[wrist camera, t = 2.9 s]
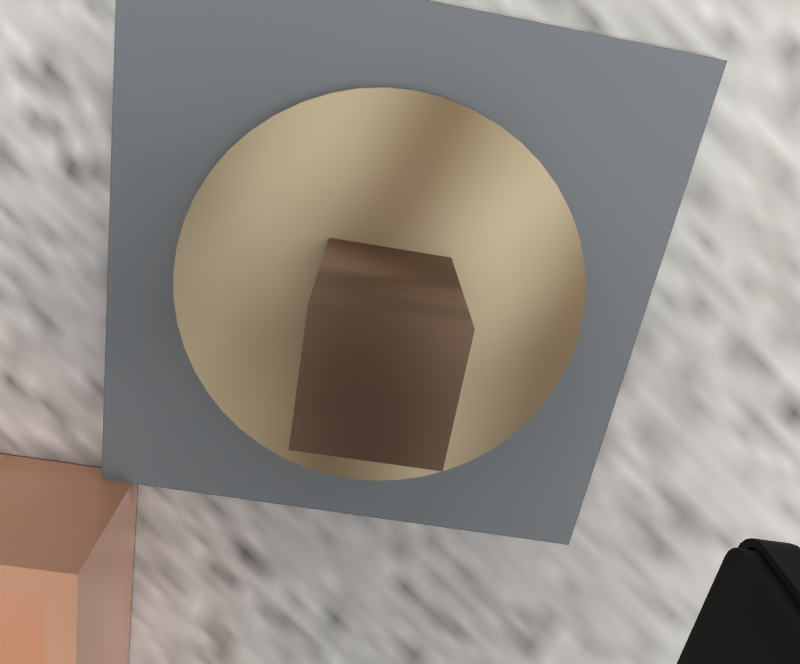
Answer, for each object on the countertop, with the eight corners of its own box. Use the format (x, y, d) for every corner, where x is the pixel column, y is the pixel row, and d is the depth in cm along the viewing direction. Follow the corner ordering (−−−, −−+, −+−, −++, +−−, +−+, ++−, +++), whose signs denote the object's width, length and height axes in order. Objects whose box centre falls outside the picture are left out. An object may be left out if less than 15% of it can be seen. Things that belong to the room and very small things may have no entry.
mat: (717, 60, 19) (727, 60, 19) (564, 533, 25) (568, 544, 24) (125, -59, 18) (117, -62, 17) (108, 469, 24) (101, 479, 23)
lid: (622, 127, 19) (735, 161, 13) (524, 482, 23) (574, 636, 17) (198, 49, 18) (102, 45, 12) (173, 433, 23) (92, 577, 16)
